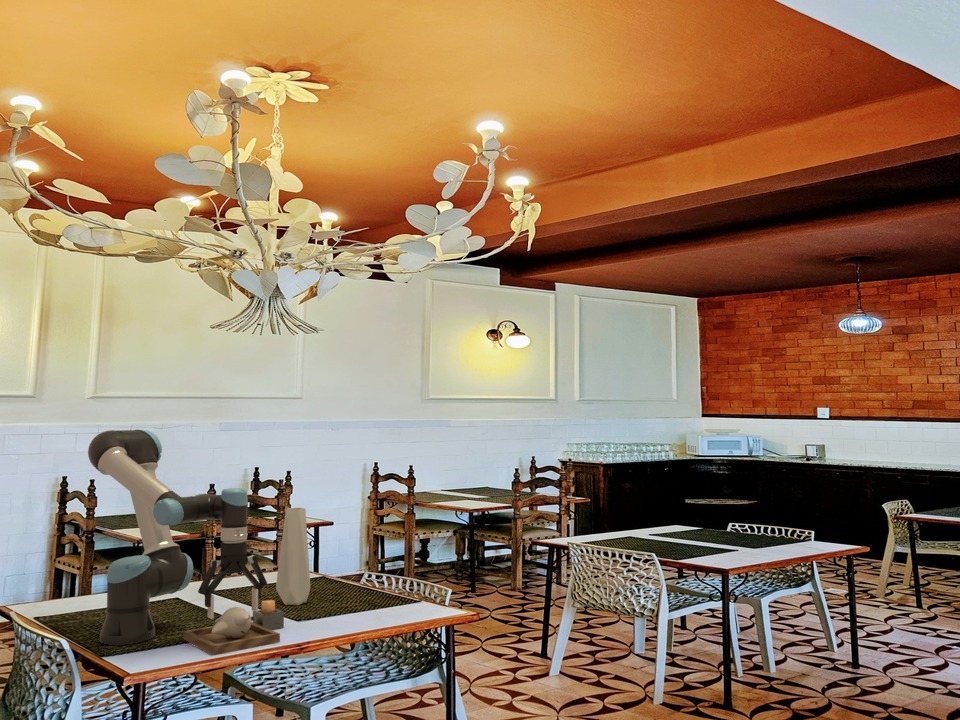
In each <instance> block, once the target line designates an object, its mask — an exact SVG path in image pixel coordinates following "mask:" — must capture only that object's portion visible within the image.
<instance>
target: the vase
mask: <svg viewBox="0 0 960 720" xmlns="http://www.w3.org/2000/svg"><path fill="white" fill-rule="evenodd" d="M284 515H285V516H284V520H283V521H284V522H283V528H282V529H283V530H282V537H281V538H282V539H281V545H280V552H279V560H278V567H277V568H278V569H277V575H276V582H275V583H276V584H275V590H276V593H278V595H279V597H280V600H281V601H282V602H283V604H284V606H299V605H302V604H305V603H306V602H307V600H308V597H309V594H310V590H311V576H310V575H311V573H310V559H309V547H308V546H309V545H308V530H307V512H306V508H305V507H287V508H285V514H284Z"/></svg>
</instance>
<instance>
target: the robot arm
mask: <svg viewBox="0 0 960 720" xmlns="http://www.w3.org/2000/svg"><path fill="white" fill-rule="evenodd" d="M162 448H163V446H162V443H161V440H160V439H159V437H158V436H157V435H156V434H155V433H154V432H152V431H150V430H148V429H147V430H146V429H144V430H143V429H128V430H127V429H126V430H125V429H121V430H114V429H113V430H111V429H109V430H105V431H102V432H100V433H99V434H97V435H95V436H94V437H93V439H92V440H91V442H90V443H89V445H88V450H87V455H88V458H89V461H90V463H91V465H92V466H93V467H94V468H95V469H96V470H97V471H98V472H99V473H100V474H102V475H106V476H110V477H111V478H113V479H114V480H115V481H117V483H118V484H121V486H122V487H123V488H125V489H127V491H129V494H130V497H131V501H132V506H133V509H134V513H135V517H136V522H137V525H138V528H139V529H138V530H139V533H140V537H141V541H142V545H143V549H144V551H143V553H142V555H141V554H140V555H139V554H138V555H133V556H125V557H121V558H119V559H116V560H114V561H113V562H112V563H110V564H109V566H108V568H107V569H108V570H107V577H106V581H107V585H106V586H107V587H106V589H107V590H106V591H107V594H106V597H107V599H106V616H105V617H104V618H105V619H104V621H103V624H102V626H101V630H100V633H99V643H100V642H101V643H100V644H102V643H104V644H103V645H105V644H109V645H108V646H126V645H125V644H128V645H134V644H133V643H136V644H138V643H137V642H141V643H143V642H142V641H145V640H148V641H150V640H152V639H154V638H155V637H154V636H156V628H155V624H154V622H153V618H152V615H151V611H150V599H152V598H156V597H160V596H164V595H169V594H170V595H172V594H175V593H177V592H180V591H182V590H184V589H186V588H187V587H188V586H189V585H190V583H191V579H192V578H193V575H194V563H193V560H192V558H191V557H190V556H189V555H188V554H187V553H185V552H182V551H181V547H180V545H179V543H175V542H174V540H173V537H172V533H171V528H170V526H176V525H181V524H186V523H187V524H188V523H195V522H202V521H209V520H211V521H213V520H214V521H220V541H221V543H220V558H219V560H217V559H216V560H215V559H210V561H209V566H208V569H207V571H206V573H205V576H204V578H203V580H202V582H201V584H200V586H199V588H198V590H197V591H198V594H201V595H203V596H204V607H206V608H207V618H208V619H210V620H213V619H215V614H214V613H215V612H214V611H215V595H214V594H213V593H214V592H215V591H216V589H217V587H218V586H220V584H221V582H222V581H223V579H224V578H225V577H226V576H227V575H233V574H241V573H242V574H243V576H244V577H246V578H247V580H249V582H250V583H251V584H252V586H253V587H252V588H251V611H252V612H253V611H255V612H257V611H258V610H259V600H260V599H261V598H262V589H263V587H264V586H267V585H268V582H267V580H266V578H265V576H264V573H263V571H262V570H261V567H260V565H259V562H258V561H259V560H258V556H257V555H254V554H250V555H249V556H248V555H247V554H248V542H247V541H246V540H247V539H248V509H249V508H248V506H249V500H248V490H247V489H246V488H243V487H242V488H241V487H238V488H237V487H236V488H235V487H230V488H224V489H222V490H221V493H220V494H210V493H197V494H195V495H191V496H180V495H179V494H178V493H177V492H175V491H174V490H172V488H170V487H168V486H167V485H166V484H165V483H164V482H162V481H161V480H159V479H158V478H157V475H156V470H157V468H158V467H159V462H160V460H161V457H162V452H163V449H162ZM248 563H249V564H250V565H251V568H252V570H253V571H254V574H255V576H256V577H255V576H254V574H252V573H251V572H250V570H249V568H248V567H247V566H246V565H247V564H248ZM219 566H220V567H221V568H220V569H219V570H218V571H217V574H216V575H215V573H216V570H217V568H218V567H219ZM214 576H215V577H214ZM213 577H214V578H213ZM256 578H257V579H256ZM153 637H154V638H153ZM151 638H152V639H151ZM149 639H150V640H149ZM145 642H146V641H145Z"/></svg>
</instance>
